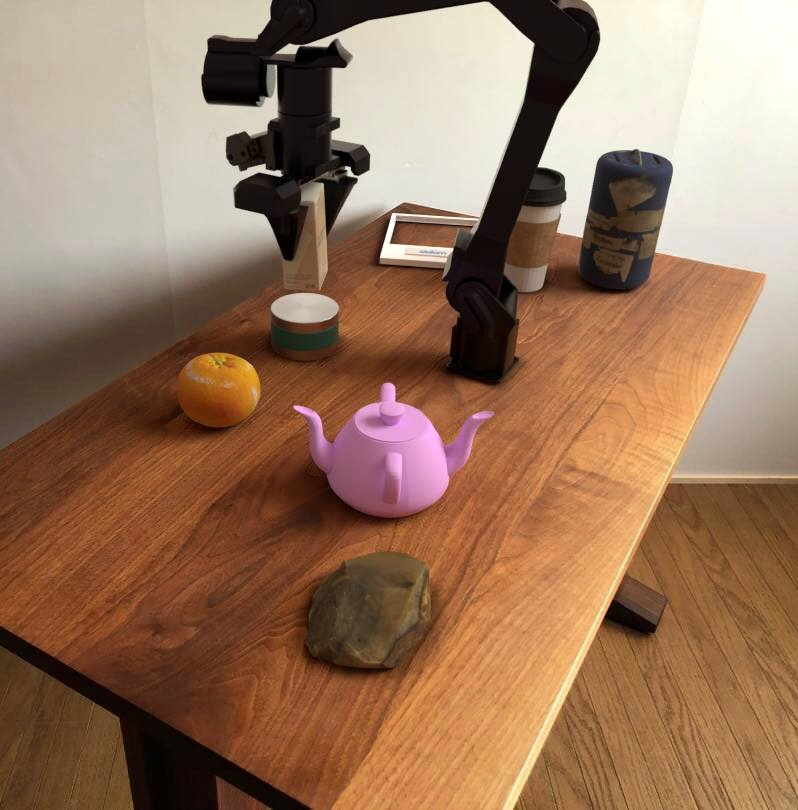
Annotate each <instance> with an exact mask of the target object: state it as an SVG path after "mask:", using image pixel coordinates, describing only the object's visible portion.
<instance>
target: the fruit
mask: <svg viewBox="0 0 798 810" xmlns="http://www.w3.org/2000/svg"><path fill="white" fill-rule="evenodd" d="M176 396H177V402H178V404H179V406H180V408H181V409H182V411H183V412H184V413H185V414H186V416H187V417H188V418H190V419H191V420H192V421H194V422H196V423H198V424H199V425H202V426H205V427H207V428H208V427H209V428H227V427H231V426H234V425H237V424H238V423H241V422H243V421H244V420H246V419H247V418H248V417H249V416H250V415H252V413H253V412H254V410H255V409H256V407H257V405H258V403H259V401H260V397H261V382H260V378H259V375H258V373H257V371H256V370H255V368H254V366H253V365H252V364H251V363H250V362H248V360H245V359H244V358H242V357H240V356H237V355H235V354H231V353H227V352H211V353H205V354H201V355H198V356H196V357H194V358H193V359H191V360H190V361H188V362H187V363H186V364H185V365H184V366H183V368H182V369H181V371H180V372H179V375H178V377H177V380H176Z"/></svg>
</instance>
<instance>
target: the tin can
mask: <svg viewBox="0 0 798 810" xmlns="http://www.w3.org/2000/svg"><path fill="white" fill-rule="evenodd" d="M339 334H340V306H339V304H338V302H336V301H335V300H334V299H332V298H331V297H329V296H326V295H323V294H319V293H312V292H297V293H292V294H291V293H290V294H286V295H284V296H283V295H282V296H281V297H279V298H277V299H276V300H274V301H272V303H271V305H270V338H271V339H270V340H271V341H270V342H271V348H272V350H273V352H274V353H276V354H277V355H278V356H280V357H282V358H285V359H287V360H292V361H298V362H299V361H300V362H308V361H309V362H311V361H317V360H322V359H326V358H327V357H330V356H331V355H333V354H334V353H335V352H336V351H337V349H338V347H339V336H340V335H339Z"/></svg>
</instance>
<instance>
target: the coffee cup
mask: <svg viewBox="0 0 798 810" xmlns="http://www.w3.org/2000/svg"><path fill="white" fill-rule="evenodd" d="M567 194H568V193H567V190H566V176H565V175H564V174H563V173H562V172H560V171H558V170H555V169H553V168H550V167H542V166H538V167H537V170H536V172H535V175H534V178H533V180H532V183H531V185H530V188H529V190H528V193H527V196H526V198H525V201H524V203H523V206H522V208H521V211H520V214H519V216H518V219H517V221H516V224H515V226H514V229H513V232H512V234H511V237H510V240H509V245H508V251H507V257H506V263H505V268H504V274H505V275H506V276H507V277H508V278H509V279H510V281H511V282H512V283H513V284H514V285H515V286H516V287H517V288H518V293H533V292H534V293H535V292H537V291H539V290H541V289H542V288H543V286H544V283H545V278H546V274H547V270H548V266H549V263H550V260H551V255H552V252H553V248H554V244H555V241H556V237H557V234H558V233H557V232H558V228H559V225H560V223H561V222H560V221H561V218H562V213H561V210H562V206H563V204H564V203H565V202H566V201H567Z"/></svg>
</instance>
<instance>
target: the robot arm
mask: <svg viewBox="0 0 798 810" xmlns="http://www.w3.org/2000/svg"><path fill="white" fill-rule="evenodd" d="M479 3H480V4H481V3H489V4H490V5H492V6H493V7H494V8H495V9H496V10H497V11H498V12H499V13H500V14H501V15H503V17H504V18H506V19H507V20H508V21H509V22H510V23H511V25H513V27H515V29H516V30H517V31H519V32H520V33H521V34H522V35H523V36H524V37H525V38H527V40H529V41H530V42H532V49H531V56H530V59H529V60H530V61H529V65H528V71H527V77H526V82H525V87H524V93H523V96H522V100H521V102H520V105H519V107H518V111H517V112H516V116H515V119H514V121H513V124H512V126H511V129H510V132H509V135H508V138H507V141H506V143H505V146H504V149H503V152H502V154H501V157H500V160H499V163H498V165H497V167H496V171H495V174H494V176H493V180H492V182H491V185H490V187H489V191H488V192H487V195H486V198H485V201H484V204H483V207H482V209H481V212H480V215H479V216H478V218H477V219H478V221H477V222H476V224H475V225H474V226H472V228H470V229H471V230H470V231H468V230H466V229H464V228H462V227H458V228H457V231H456V236H455V240H454V243H453V247H452V248H453V251H452V252H451V253H450V254H449V255H448V257H447V261H446V265H445V269H444V268H443V274H442V277H441V282H442V283H446V286H445V293H444V294H445V299H446V300H447V302H448V304H449V305H450V307H451V308H452V309H453V310H455V311H456V312H457V313H458V315H457V317H456V318H457V319H456V323H455V324H453V325H452V326H451V327H452V328H451V335H450V345H449V358H451V360H449V362H448V363H446V367H445V368H446V370H448V371H451V372H454V373H457V374H460V375H464V376H467V377H470V378H474V379H476V380H480V381H483V382H487V383H490V384H493V385H499V384H501V382H502V381H503V380H504V379H505V378H506V377H507V376H508V374H510V373H511V371H513V369H514V368H515V367H516V366H517V365H518V364H519V362H520V358H519V356H515V355H516V349H517V342H518V335H519V329H520V321H521V320H520V318H517V312H518V310H517V309H518V297H519V292H518V288H517V287H516V286H515V285H514V284H513V283H512V282H511V281H510V279H509V278H508V277H507V276H506V275H505V274H504V268H505V263H506V257H507V251H508V245H509V240H510V237H511V234H512V232H513V229H514V226H515V224H516V221H517V219H518V216H519V214H520V211H521V208H522V206H523V203H524V201H525V198H526V196H527V193H528V190H529V188H530V185H531V183H532V180H533V178H534V175H535V172H536V170H537V167H539V165H540V162H541V160H542V157H543V154H544V152H545V149H546V147H547V144H548V142H549V138H550V136H551V134H552V131H553V130H554V129H553V128H554V126H555V124H556V121H557V118H558V116H559V113H560V112H561V110H562V108H563V106H564V105H565V104H566V103H567V101H568V100H569V98H570V97H571V95H572V94H573V92H574V91H575V90H576V88H577V87H578V85H579V84H580V82H581V81H582V79H583V77H584V75H585V74H586V72H587V71H588V69H589V68H590V66H591V64H592V62H593V61H594V59H595V57H596V55H597V54H598V51H599V47H600V43H601V30H600V26H599V25H600V24H599V22H598V21H599V20H598V17H597V14H596V13H595V9H594V8H593V7H592V6H591V5H590V4H589V3H588V2H587V1H585V0H271V3H270V7H269V16H270V19H269V21H268V22H267V23H266V24H265V26H264V28H263V29H262V31H261V32H260V33H259V34H257V38H252V37H251V38H250V37H248V38H247V37H232V36H229V35H225V34H213V35H211V36H210V37H208V38H207V39H206V47H207V50H206V53H205V56H204V62H203V68H202V69H203V70H202V74H201V75H200V81H201V82H200V84H201V91H202V97H203V99H204V102H205V103H206V104H207V105H209V106H227V107H248V108H262V107H263V106H264V103H265V101H266V99H271V98H272V97H273V96H274V94H275V90H276V101H277V103H276V104H277V105H276V108H277V117H274V118H272V119H270V120H269V122H268V123H267V126H266V130H263V131H260V132H258V133H254V134H249V133H248V132H247V131H245V130H243V131H240V132H238V133H233V134H231V135H228V136H226V137H225V159H226V160H227V161H228V163H229V164H230V165H231V166H232V167H237V168H238V170H239V172H246V171H248V169H249V168H254V167H258V166H262V165H265V170H266V171H271V172H276V171H279V172H280V174H281V175H279V176H278V175H274V174H270V173H265V172H259V171H258V172H255V173H254V174H252V175H250V176H247V177H246V178H243V179H242V180H239V182H237V183H236V184H235V185H234V187H233V188H232V192H233V195H232V196H233V207H234V208H235V209H238V210H243V211H247V212H249V213H250V212H251V213H256V214H259V215H263V216H264V217H265V218H266V220H267V222H268V223H269V225H270V227H271V230H272V232H273V236H274V238H275V241H276V243H277V246H278V248H279V250H280V254H281V253H282V256H283V258H284V260H287V261H293V260H294V257H295V254H296V251H297V248H298V245H299V241H300V237H301V234H302V230H303V226H304V222H305V219H306V215H307V212H308V208H309V206H305V205H301V204H300V202H301V188H303V187H305V186H307V185H309V184H311V183H313V182H314V183H323V184H324V203H325V223H326V240H327V239H328V237H329V236H330V233H331V231H332V229H333V226H334V225H335V222H336V221H337V219H338V216H339V215H340V213H341V211H342V209H343V207H344V205H345V203H346V201H347V199H348V198H349V196H350V194H351V192H352V191H353V188H354V187H355V185H357V184H358V182H359V178H358V177H360V176H361V175H363V174H365V173H367V172H369V171H371V153H370V152H369V150H368V148H366V146H365V145H364V144H361V143H355V142H349V141H345V140H339V139H333V132H334V131H336V130H338V129H340V128H341V117H338V116H333V98H334V97H333V96H334V93H333V89H334V69H346V68H347V67H349V65H350V63H351V62H353V60H354V56H353V53H351V52H350V51H349V50H348V49H346V48H345V47H344V46H343V44H342V43H341V41H340V39H339V38H334V39H333V40H332V41H331V42H329V45H327V46H319V45H317V46H316V45H309V44H312V43H314V42H317V41H320V40H323V39H326V38H329V37H331V36H334V35H336V34H339V33H341V32H343V31H346V30H348V29H351V28H353V27H355V26H358V25H361V24H364V23H366V22H369V21H375V20H380V19H386V18H393V17H400V16H406V15H411V14H417V13H423V12H430V11H436V10H442V9H449V8H455V7H460V6H468V5H472V4H479ZM288 45H293V46H298V48H297V49H296V52H295V53H278V52H280V51H281V50H283V49H284V48H285V47H287V46H288ZM346 167H348V168H350V172H351V173H352V175H353V176H350V175H348V174H349V173H348V172H349V171H348V169H346Z"/></svg>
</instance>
